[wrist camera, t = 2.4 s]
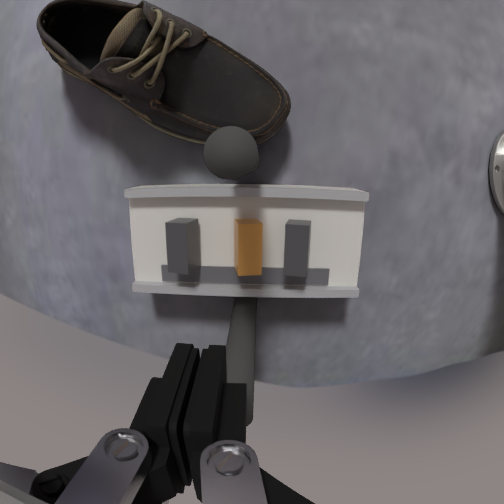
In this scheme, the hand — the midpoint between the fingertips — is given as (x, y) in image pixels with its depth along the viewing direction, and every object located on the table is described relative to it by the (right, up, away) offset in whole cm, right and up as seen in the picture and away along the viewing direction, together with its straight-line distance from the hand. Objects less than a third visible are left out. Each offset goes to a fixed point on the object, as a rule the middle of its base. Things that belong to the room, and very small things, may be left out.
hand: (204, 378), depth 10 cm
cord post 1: (+1, +14, +20) cm, 25 cm away
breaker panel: (+1, +6, +22) cm, 23 cm away
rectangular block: (+1, +5, +19) cm, 19 cm away
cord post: (+1, -1, +24) cm, 24 cm away
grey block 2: (+6, +5, +18) cm, 20 cm away
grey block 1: (-4, +5, +19) cm, 20 cm away
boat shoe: (-8, +23, +18) cm, 31 cm away
